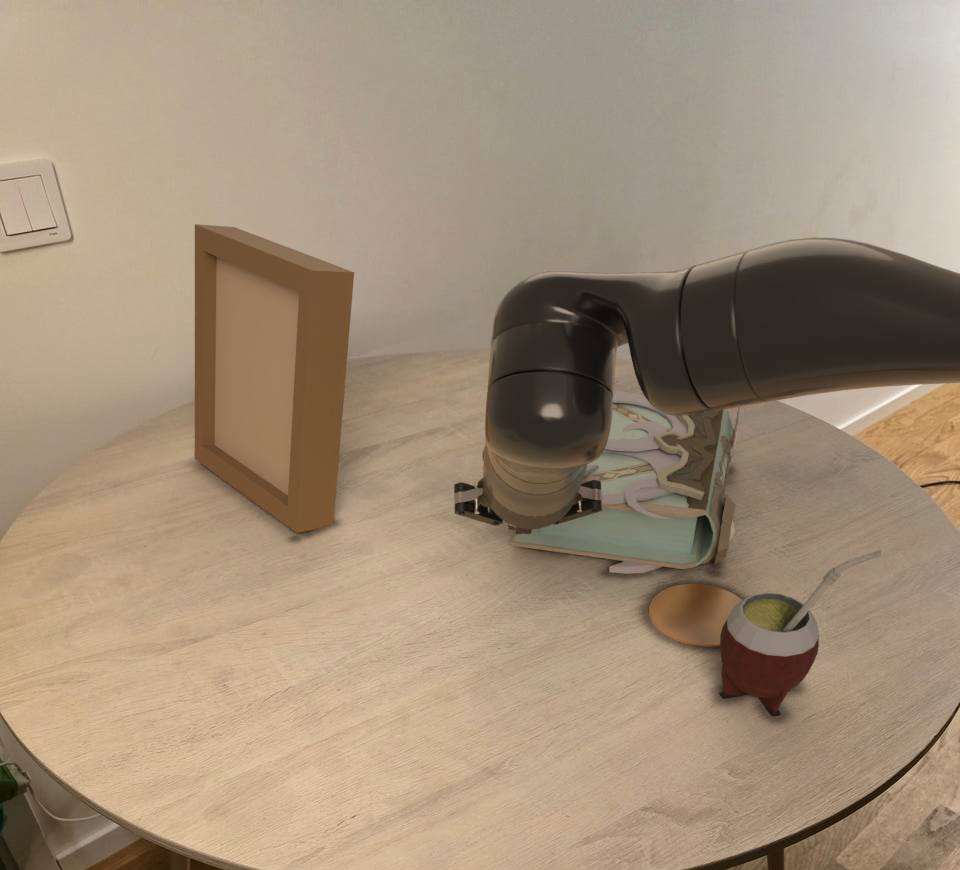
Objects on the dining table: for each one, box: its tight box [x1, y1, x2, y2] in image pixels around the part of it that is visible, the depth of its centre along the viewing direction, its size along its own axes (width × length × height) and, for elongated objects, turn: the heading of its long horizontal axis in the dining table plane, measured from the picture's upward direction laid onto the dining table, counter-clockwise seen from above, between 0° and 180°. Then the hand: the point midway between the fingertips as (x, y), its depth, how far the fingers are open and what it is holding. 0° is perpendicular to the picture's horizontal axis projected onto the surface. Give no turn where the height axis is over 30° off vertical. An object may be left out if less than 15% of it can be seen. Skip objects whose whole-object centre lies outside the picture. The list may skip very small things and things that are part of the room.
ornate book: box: [509, 378, 740, 575], centre depth 92 cm, size 23×10×30 cm
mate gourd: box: [718, 549, 882, 718], centre depth 66 cm, size 8×8×15 cm
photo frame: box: [194, 223, 355, 534], centre depth 92 cm, size 15×22×25 cm
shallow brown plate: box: [648, 583, 743, 648], centre depth 78 cm, size 9×9×1 cm
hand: (523, 523), depth 83 cm, fingers closed
